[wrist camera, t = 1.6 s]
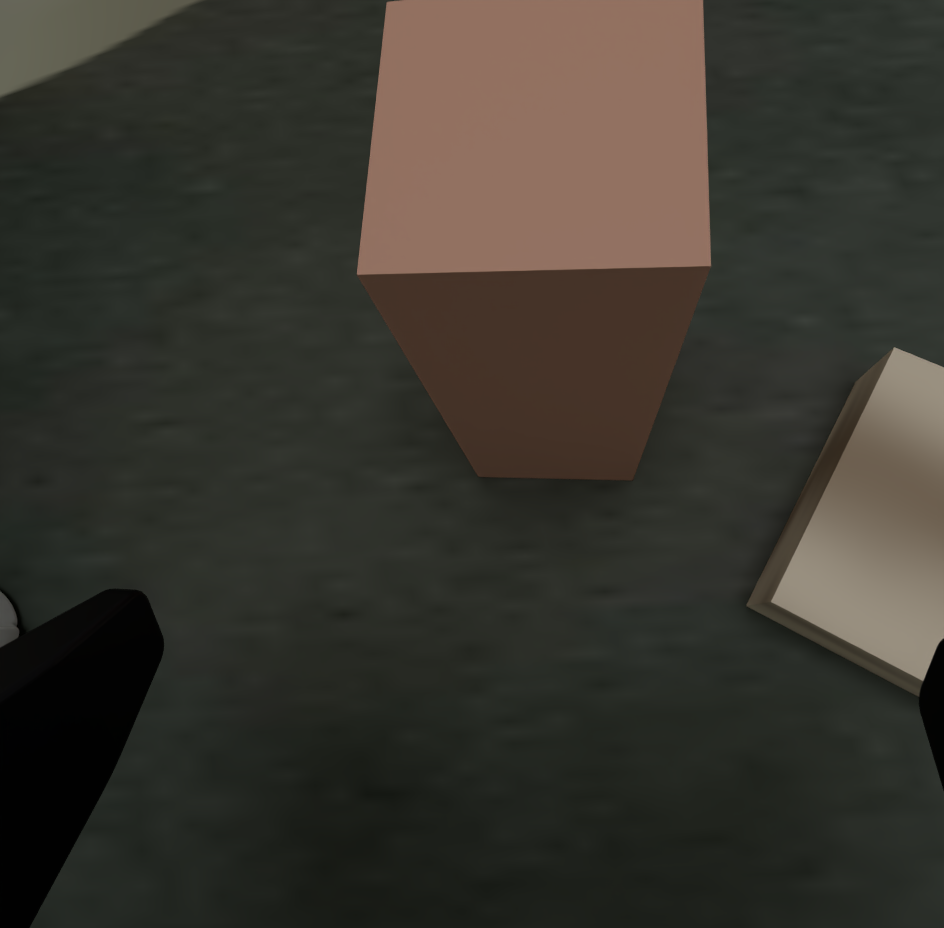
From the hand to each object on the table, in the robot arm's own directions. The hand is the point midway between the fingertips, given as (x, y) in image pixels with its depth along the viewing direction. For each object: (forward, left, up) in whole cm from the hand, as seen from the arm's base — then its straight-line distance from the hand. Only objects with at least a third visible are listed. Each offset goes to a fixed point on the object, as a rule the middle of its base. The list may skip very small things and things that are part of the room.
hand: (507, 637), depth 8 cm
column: (+7, +3, -14) cm, 16 cm away
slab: (+8, -9, -14) cm, 18 cm away
